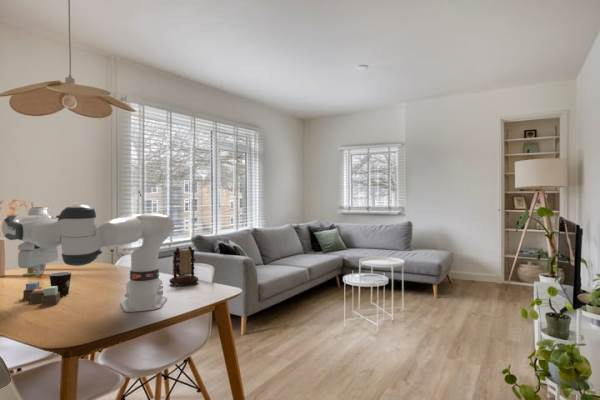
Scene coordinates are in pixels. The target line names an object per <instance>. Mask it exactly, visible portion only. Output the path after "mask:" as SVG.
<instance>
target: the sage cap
mask: <svg viewBox="0 0 600 400" xmlns="http://www.w3.org/2000/svg"><path fill="white" fill-rule="evenodd" d="M43 289H44V296H50V295H56V294H57V293H58V286H51V285H50V286H45V287H44V288H43Z"/></svg>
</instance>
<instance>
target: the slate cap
mask: <svg viewBox="0 0 600 400" xmlns="http://www.w3.org/2000/svg"><path fill="white" fill-rule="evenodd" d="M39 287H40V281H28V282H27V283H25V290H26V291H29V290H35V289H39Z"/></svg>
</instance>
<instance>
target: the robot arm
mask: <svg viewBox="0 0 600 400" xmlns="http://www.w3.org/2000/svg"><path fill="white" fill-rule="evenodd" d="M96 213H97V212H96V210H95V208H93V207H92V206H89V205H87V204H82V203H81V204H80V203H79V204H73V205H70V206H66V207H65V208H64V209H62V211H60V213H59V215H58V214H57V215H55V217H54V216H52V214H51V210H50V208H49V207H46V206H35V207H31V208H29V210H28V213H27V215H8V216H7V217H6V218H4V219H3V222H2V224H1V232H2V234H3V237H4V238H6V239H8V240H9V241H13V240H19V241H22V243H20V244H19V245H18V246H17V249H18V255H17V262H18V263H17V265H18V268H19V269H29V268H33V270H34V273H35V276H40V275H43V274H45V269H46V267H47V266H46V265H47V264H48V263H52V262H55V261H58V259H59V253H58V247H60V246H61V257H62V260H63V263H64V264H66V265H67V266H72V267H82V266H86V265H89V264H91V263H93V262H94V261H95V260H96V259H97V258H98V256H100V255H102V253H103V251H102V250H101V249H102V248H106V247H107V248H109V247H110V248H111V247H112V248H114V247H121V246H126V245H129V244H130V245H131V244H132V243H135V242H138V241H139V240H142V239H143V240H142V241H143V242H142V244H141V246H138V247H137V248H135V249H133V251H132V252H131V254H130V270H129V281H128V282H127V283H125V284H126V293H125V294H124V297H125V299H123V300H120V304H121V308H122V310H123V312H127V313H128V312H129V313H131V312H147V311H153V310H154V311H155V310H158V309H159V310H160V309H161V308H162V307H163V306H164V304H165V302H167V300H168V296H164V289H163V288H164V285H163V280H161V279H160V278H159V277H160V268H159V255H160V254H159V253H160V249H161V247H162V245H163V243H164V242H165V241H166V239H168V238H169V237H170V236H171V235H172V234H173V232H174V230H175V222H174V220H173V218H172V217H171V216H170V215H166V214H160V213H129V214H123V215H122V214H121V215H120V216H118V217H115V218H112V219H111V218H110V219H109V220H106V221H104V222H102V223H100V224H99V225H98V226H97V220H96V218H97V214H96Z"/></svg>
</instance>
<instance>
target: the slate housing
mask: <svg viewBox="0 0 600 400" xmlns="http://www.w3.org/2000/svg"><path fill="white" fill-rule="evenodd" d="M39 289H43V288H42V287H40V286H39ZM32 291H33V290H29V291H26V289H24V290H23V291H22V293H23V298H22V299H29V300H30V294H31V293H32Z"/></svg>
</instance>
